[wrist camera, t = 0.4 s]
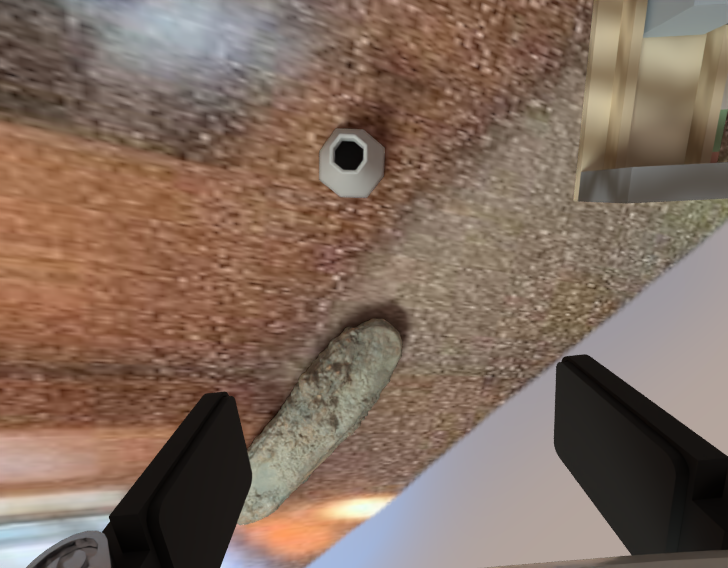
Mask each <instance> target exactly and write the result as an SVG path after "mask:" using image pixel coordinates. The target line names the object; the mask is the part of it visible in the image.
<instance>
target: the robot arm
mask: <svg viewBox="0 0 728 568" xmlns="http://www.w3.org/2000/svg"><path fill="white" fill-rule="evenodd" d="M554 423H555V424H554V446H555V450H556V452H557V454H558V456H559V458H560V459H561V460H562V462H563V463H564V464H565V466H566V467H567V468H568V469H569V471H570V472H571V474H572V475H573V476H574V478H575V479H576V480H577V482H578V483H579V484H580V486H581V487H582V489H583V490H584V491H585V492H586V494H587V495H588V497H589V498H590V499H591V501H592V502H593V503H594V505H595V506H596V507H597V509H598V510H599V512H600V513H601V514H602V516H603V517H604V518H605V520H606V521H607V522H608V524H609V525H610V526H611V528H612V529H613V530H614V532H615V533H616V535H617V536H618V537H619V539H620V540H621V541H622V542H623V544H624V545H625V547H626V548H627V549H628V551H629V552H630V553H631V556H620V557H609V558H608V557H607V558H595V559H583V560H571V561H558V562H547V563H534V564H522V565H510V566H498V567H487V568H728V456H727V455H725V454H724V453H722V452H721V451H720V450H718V449H717V448H716V447H714V446H713V445H711V444H710V443H709V442H707V441H706V440H705V439H703V438H702V437H700V436H699V435H698V434H696V433H695V432H693V431H692V430H690V429H689V428H688V427H687V426H685V425H684V424H682V423H681V422H679V421H678V420H677V419H676V418H674V417H673V416H671V415H670V414H669V413H667V412H666V411H665V410H663V409H662V408H660V407H659V406H658V405H656V404H655V403H653V402H652V401H651V400H649V399H648V398H647V397H645V396H644V395H642V394H641V393H640V392H638V391H637V390H635V389H634V388H633V387H631V386H630V385H628V384H627V383H626V382H624V381H623V380H622V379H620V378H619V377H618V376H616V375H615V374H614V373H612V372H611V371H609V370H608V369H607V368H605V367H604V366H603V365H601V364H600V363H598V362H597V361H596V360H594V359H593V358H591V357H590V356H588V355H575V356H565V357H564V358H563V359H562V362H559V363H558V364H557V366H556V392H555V422H554ZM251 484H252V469H251V465H250V461H249V456H248V452H247V448H246V444H245V440H244V435H243V431H242V427H241V423H240V418H239V414H238V410H237V406H236V401H235V398H234V397H233V396H229V395H228V393H227V392H217V393H207V394H204V395H203V396H202V398H201V399H200V400H199V402H198V403H197V404H196V405H195V407H194V408H193V409H192V410H191V412H190V413H189V414H188V416H187V417H186V418H185V419H184V421H183V422H182V423H181V425H180V426H179V427H178V428H177V430H176V431H175V432H174V434H173V435H172V436H171V437H170V439H169V440H168V441H167V443H166V444H165V445H164V446H163V448H162V449H161V450H160V452H159V453H158V454H157V455H156V457H155V458H154V459H153V460H152V462H151V463H150V464H149V466H148V467H147V468H146V469H145V471H144V472H143V473H142V475H141V476H140V477H139V478H138V480H137V481H136V482H135V484H134V485H133V486H132V487H131V489H130V490H129V491H128V493H127V494H126V495H125V496H124V498H123V499H122V500H121V501H120V503H119V504H118V505H117V507H116V508H115V509H114V510H113V512H112V513H111V514H110V516H109V519H110V522H109V524H108V525H107V526H106V527H105V529H104V530H103V531H102V532H99V531H85V532H81V533H78V534H74V535H72V536H70V537H68V538H66V539H64V540H61V541H60V542H58V543H57V544H55V545H53V546H52V547H50V548H49V549H47V550H46V551H44V552H43V553H42V554H41V555H39V556H38V557H37V558H36V559H34V560H33V561H32V562H31V563H30V564H29V565H28V566H27V567H26V568H220V566H221V564H222V561H223V559H224V556H225V553H226V551H227V548H228V545H229V543H230V540H231V537H232V535H233V532H234V529H235V527H236V524H237V522H238V519H239V516H240V514H241V511H242V508H243V506H244V503H245V500H246V498H247V495H248V493H249V490H250V487H251Z"/></svg>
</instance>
